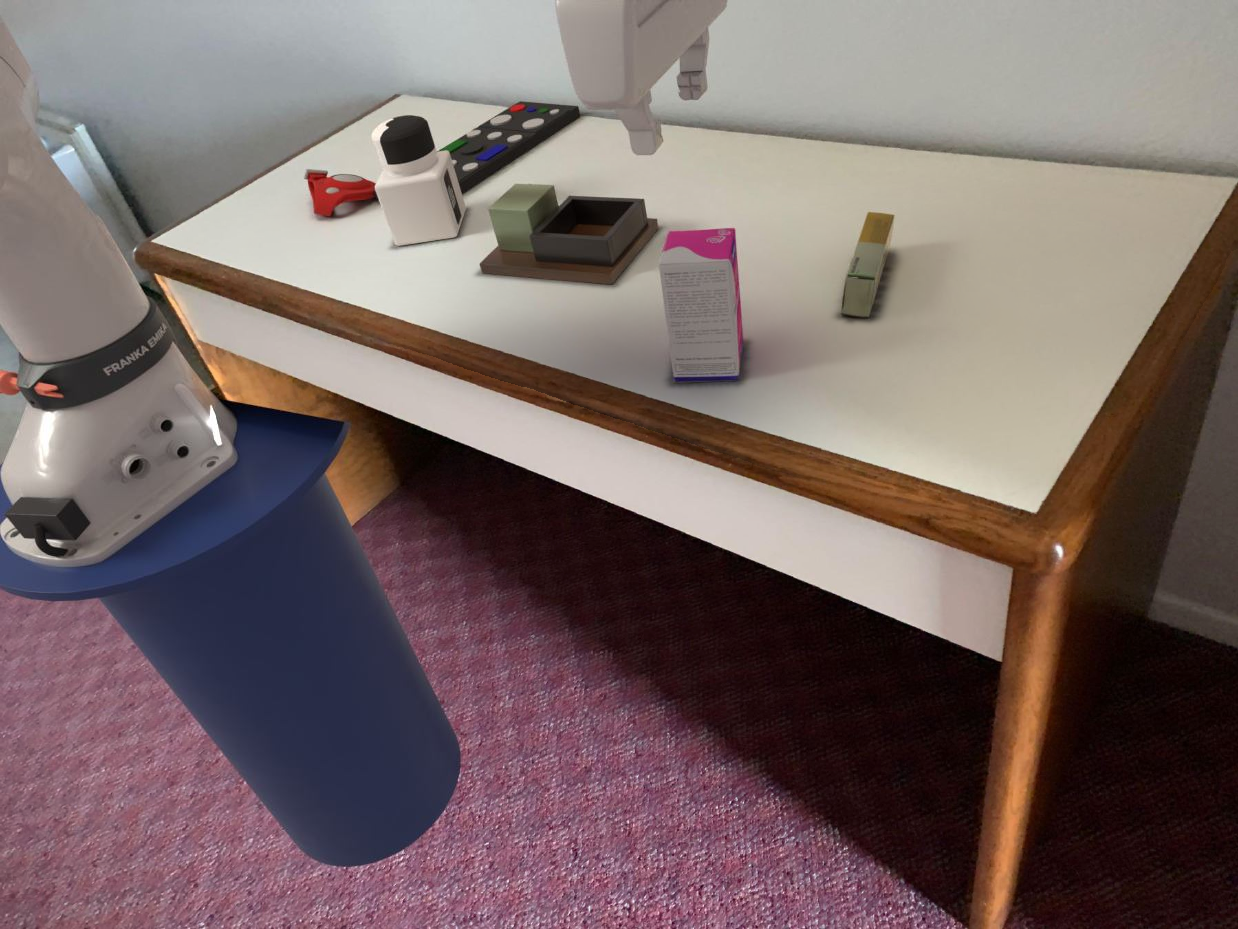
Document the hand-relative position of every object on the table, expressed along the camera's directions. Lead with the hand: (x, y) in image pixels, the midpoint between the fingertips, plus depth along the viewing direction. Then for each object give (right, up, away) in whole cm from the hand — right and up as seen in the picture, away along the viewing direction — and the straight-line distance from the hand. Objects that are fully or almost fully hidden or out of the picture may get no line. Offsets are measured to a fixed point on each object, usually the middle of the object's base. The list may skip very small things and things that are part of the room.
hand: (672, 122), depth 66 cm
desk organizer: (-9, -1, +36) cm, 37 cm away
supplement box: (+4, -16, +15) cm, 22 cm away
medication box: (+19, -8, +20) cm, 29 cm away
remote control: (-22, +18, +61) cm, 68 cm away
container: (-26, +4, +47) cm, 54 cm away
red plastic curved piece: (-41, +11, +58) cm, 72 cm away
